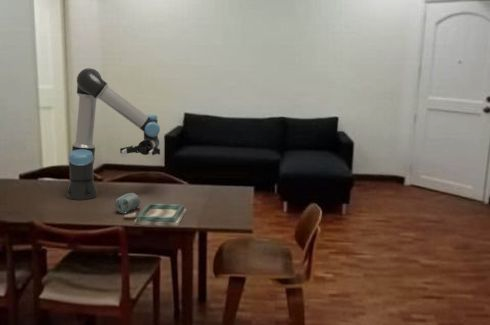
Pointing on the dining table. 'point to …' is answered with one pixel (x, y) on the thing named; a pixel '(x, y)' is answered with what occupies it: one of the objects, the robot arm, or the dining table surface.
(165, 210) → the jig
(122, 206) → the spool
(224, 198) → the dining table surface
